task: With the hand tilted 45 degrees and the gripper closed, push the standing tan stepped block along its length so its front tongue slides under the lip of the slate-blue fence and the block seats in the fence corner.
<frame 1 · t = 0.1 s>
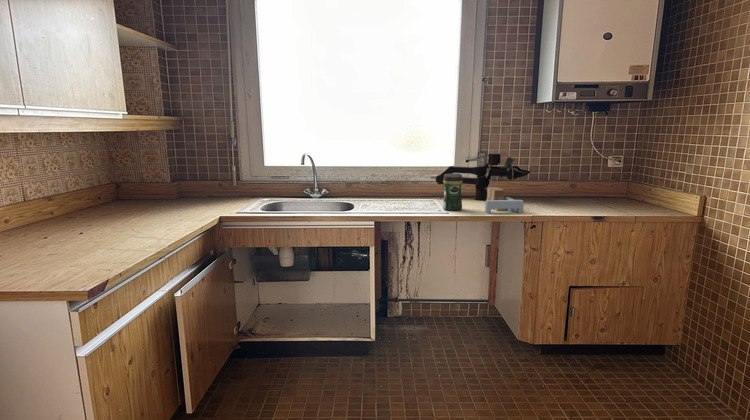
hand: (528, 173, 240), 17 cm above the worktop, tool horizontal, fingers open, 9 cm apart
tan stepped block: (494, 207, 231), on the worktop
coffee jar: (452, 209, 225), on the worktop
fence: (503, 212, 217), on the worktop
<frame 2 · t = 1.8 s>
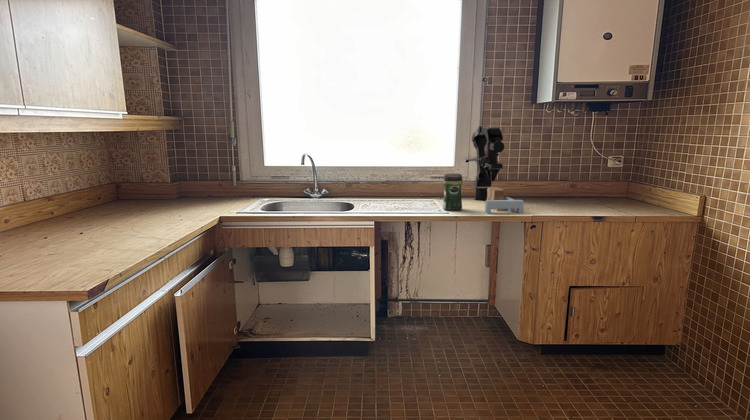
hand: (491, 180, 237), 13 cm above the worktop, tool pointing down, fingers open, 5 cm apart
nothing on the worktop moved.
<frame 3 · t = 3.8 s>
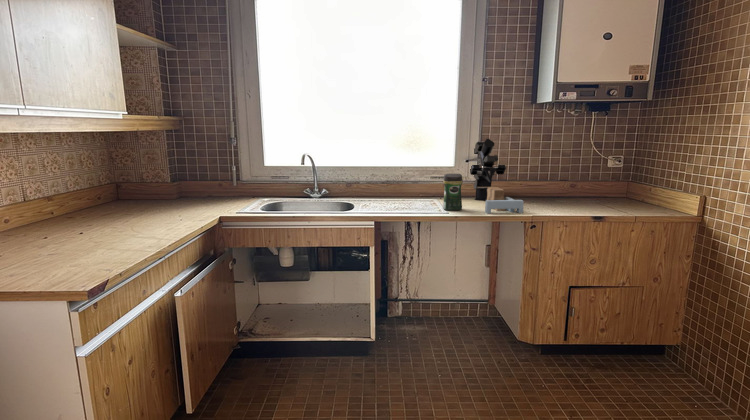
hand: (490, 181, 238), 12 cm above the worktop, tool tilted 45°, fingers closed
nothing on the worktop moved.
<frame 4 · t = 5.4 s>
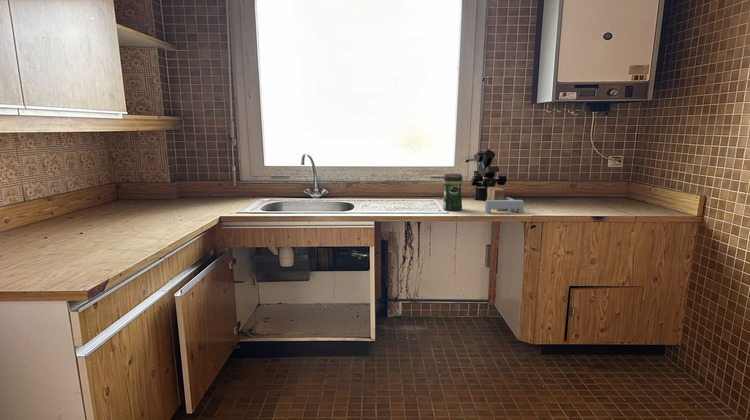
hand: (491, 192, 236), 7 cm above the worktop, tool tilted 45°, fingers closed, pressing on tan stepped block
tan stepped block: (494, 207, 231), on the worktop, touching gripper
everything else where it was.
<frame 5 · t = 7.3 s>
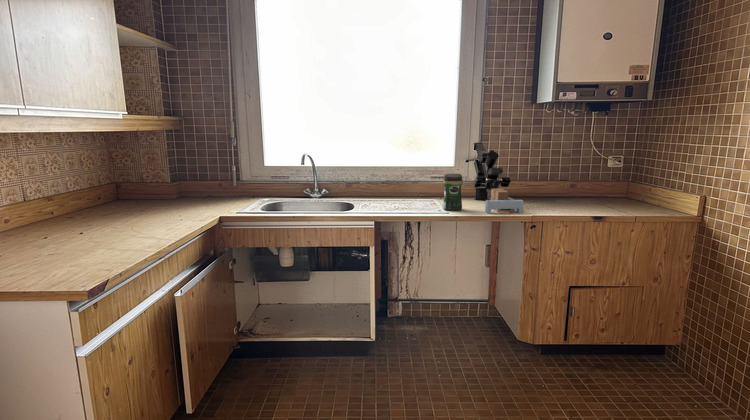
hand: (495, 194, 230), 7 cm above the worktop, tool tilted 45°, fingers closed
tan stepped block: (498, 209, 225), on the worktop
everything else where it was.
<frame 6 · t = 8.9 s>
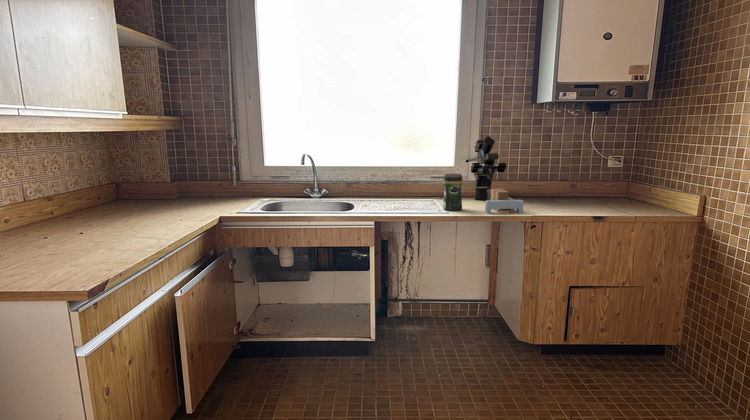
hand: (491, 179, 236), 14 cm above the worktop, tool tilted 45°, fingers closed
nothing on the worktop moved.
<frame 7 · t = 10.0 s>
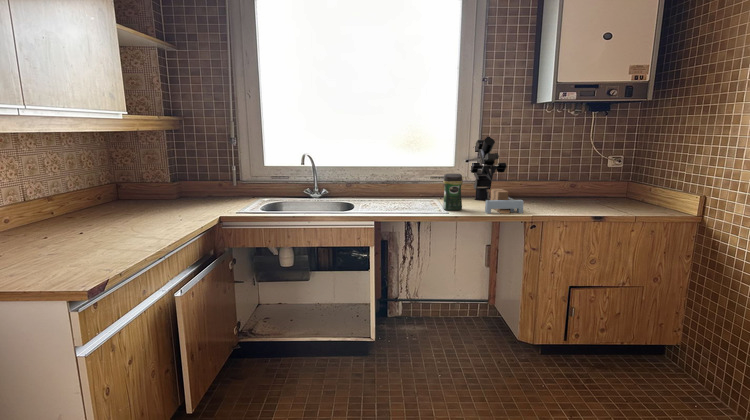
hand: (491, 179, 236), 14 cm above the worktop, tool tilted 45°, fingers closed
nothing on the worktop moved.
at the end: tan stepped block 0.9 cm from the target spot on the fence, point 0.0 cm above the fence's base; tan stepped block tilted 0°; tan stepped block moved 5.9 cm from its start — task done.
